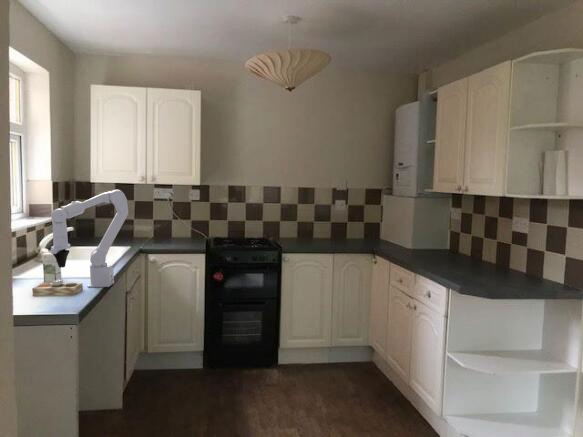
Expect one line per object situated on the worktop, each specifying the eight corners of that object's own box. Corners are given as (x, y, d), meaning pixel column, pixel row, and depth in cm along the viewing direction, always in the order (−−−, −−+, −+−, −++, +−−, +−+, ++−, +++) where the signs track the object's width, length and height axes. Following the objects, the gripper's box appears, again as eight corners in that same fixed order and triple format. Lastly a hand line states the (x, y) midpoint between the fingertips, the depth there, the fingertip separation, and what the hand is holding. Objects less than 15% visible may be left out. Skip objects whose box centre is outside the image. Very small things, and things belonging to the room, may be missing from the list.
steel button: (64, 285, 209) (64, 279, 209) (60, 287, 205) (60, 281, 205) (55, 285, 209) (55, 279, 208) (51, 287, 205) (50, 282, 204)
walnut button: (77, 288, 209) (77, 282, 209) (74, 290, 205) (73, 284, 205) (68, 288, 209) (68, 282, 209) (64, 290, 205) (64, 285, 205)
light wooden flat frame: (82, 289, 212) (82, 282, 211) (74, 295, 203) (73, 288, 202) (43, 289, 211) (42, 283, 211) (32, 295, 202) (32, 288, 202)
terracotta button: (52, 288, 209) (51, 282, 209) (47, 290, 205) (47, 285, 205) (42, 288, 209) (42, 282, 208) (37, 290, 205) (37, 285, 204)
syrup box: (62, 282, 225) (60, 251, 223) (56, 285, 219) (54, 253, 217) (49, 282, 225) (47, 251, 223) (43, 285, 219) (41, 253, 217)
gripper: (58, 234, 218) (60, 263, 220) (42, 239, 204) (44, 270, 206) (74, 233, 219) (75, 263, 220) (59, 238, 204) (61, 270, 206)
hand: (62, 267), depth 213 cm, fingers closed
